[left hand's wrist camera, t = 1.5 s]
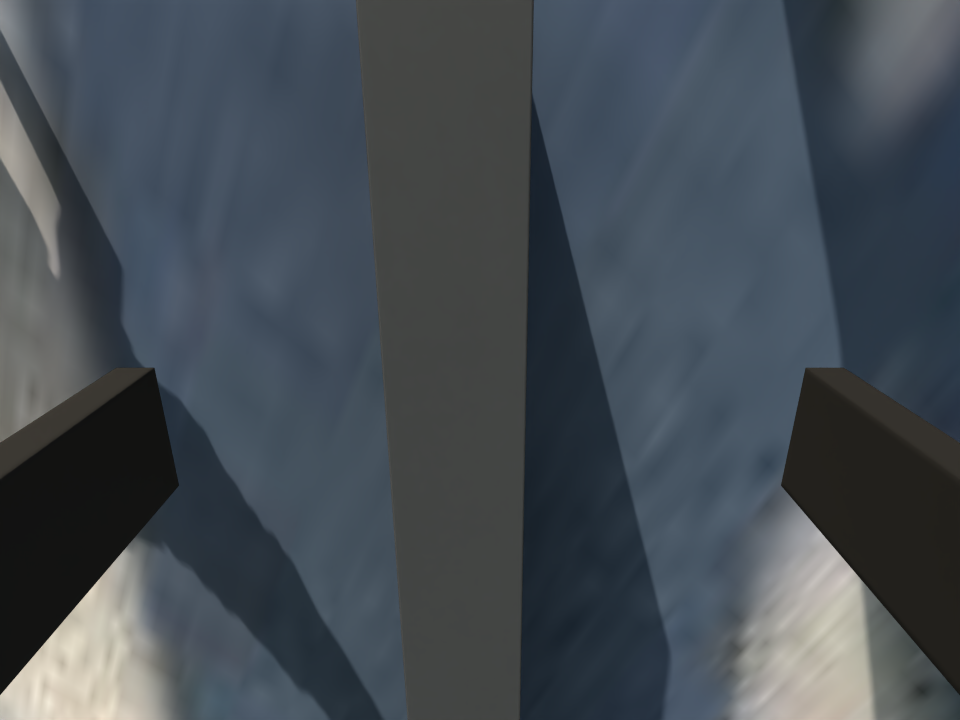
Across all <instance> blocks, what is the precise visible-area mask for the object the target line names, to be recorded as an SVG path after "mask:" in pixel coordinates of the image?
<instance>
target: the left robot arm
mask: <svg viewBox="0 0 960 720" xmlns="http://www.w3.org/2000/svg"><path fill="white" fill-rule="evenodd" d="M178 486H179V483H178V479H177V474H176V469H175V464H174V459H173V455H172V450H171V445H170V440H169V436H168V431H167V426H166V421H165V416H164V412H163V407H162V402H161V397H160V393H159V388H158V383H157V378H156V373H155V369H154V368H115V369H114V370H112V371H111V372H109V373H108V374H106V375H104V376H103V377H101V378H100V379H98V380H97V381H95V382H94V383H92V384H91V385H89V386H87V387H86V388H84V389H83V390H81V391H80V392H78V393H77V394H75V395H74V396H72V397H70V398H69V399H67V400H66V401H64V402H63V403H61V404H60V405H58V406H57V407H55V408H53V409H52V410H50V411H49V412H47V413H46V414H44V415H43V416H41V417H40V418H38V419H36V420H35V421H33V422H32V423H30V424H29V425H27V426H26V427H24V428H23V429H21V430H20V431H18V432H16V433H15V434H13V435H12V436H10V437H9V438H7V439H6V440H4V441H3V442H1V443H0V695H1V693H2V692H3V691H4V690H5V689H6V688H7V686H8V685H9V684H10V683H11V682H12V681H13V679H14V678H15V677H16V676H17V675H18V674H19V672H20V671H21V670H22V669H23V668H24V666H25V665H26V664H27V663H28V662H29V661H30V659H31V658H32V657H33V656H34V655H35V654H36V652H37V651H38V650H39V649H40V648H41V647H42V645H43V644H44V643H45V642H46V641H47V640H48V638H49V637H50V636H51V635H52V634H53V632H54V631H55V630H56V629H57V628H58V627H59V625H60V624H61V623H62V622H63V621H64V620H65V618H66V617H67V616H68V615H69V614H70V613H71V611H72V610H73V609H74V608H75V607H76V606H77V604H78V603H79V602H80V601H81V600H82V598H83V597H84V596H85V595H86V594H87V593H88V591H89V590H90V589H91V588H92V587H93V586H94V584H95V583H96V582H97V581H98V580H99V579H100V577H101V576H102V575H103V574H104V573H105V572H106V570H107V569H108V568H109V567H110V566H111V564H112V563H113V562H114V561H115V560H116V559H117V557H118V556H119V555H120V554H121V553H122V552H123V550H124V549H125V548H126V547H127V546H128V545H129V543H130V542H131V541H132V540H133V539H134V538H135V536H136V535H137V534H138V533H139V532H140V530H141V529H142V528H143V527H144V526H145V525H146V523H147V522H148V521H149V520H150V519H151V518H152V516H153V515H154V514H155V513H156V512H157V511H158V509H159V508H160V507H161V506H162V505H163V504H164V502H165V501H166V500H167V499H168V498H169V496H170V495H171V494H172V493H173V492H174V491H175V489H176V488H177V487H178ZM781 486H782V487H783V488H784V489H785V491H786V492H787V493H788V494H789V495H790V496H791V498H792V499H793V500H794V501H795V502H796V504H797V505H798V506H799V507H800V508H801V509H802V511H803V512H804V513H805V514H806V515H807V516H808V518H809V519H810V520H811V521H812V522H813V523H814V525H815V526H816V527H817V528H818V529H819V530H820V532H821V533H822V534H823V535H824V536H825V538H826V539H827V540H828V541H829V542H830V543H831V545H832V546H833V547H834V548H835V549H836V550H837V552H838V553H839V554H840V555H841V556H842V557H843V559H844V560H845V561H846V562H847V563H848V564H849V566H850V567H851V568H852V569H853V570H854V572H855V573H856V574H857V575H858V576H859V577H860V579H861V580H862V581H863V582H864V583H865V584H866V586H867V587H868V588H869V589H870V590H871V591H872V593H873V594H874V595H875V596H876V597H877V598H878V600H879V601H880V602H881V603H882V604H883V606H884V607H885V608H886V609H887V610H888V611H889V613H890V614H891V615H892V616H893V617H894V618H895V620H896V621H897V622H898V623H899V624H900V625H901V627H902V628H903V629H904V630H905V631H906V632H907V634H908V635H909V636H910V637H911V638H912V640H913V641H914V642H915V643H916V644H917V645H918V647H919V648H920V649H921V650H922V651H923V652H924V654H925V655H926V656H927V657H928V658H929V659H930V661H931V662H932V663H933V664H934V665H935V666H936V668H937V669H938V670H939V671H940V672H941V674H942V675H943V676H944V677H945V678H946V679H947V681H948V682H949V683H950V684H951V685H952V686H953V688H954V689H955V690H956V691H957V692H958V693H959V695H960V443H959V442H957V441H956V440H954V439H953V438H951V437H950V436H948V435H947V434H945V433H944V432H942V431H940V430H939V429H937V428H936V427H934V426H933V425H931V424H930V423H928V422H927V421H925V420H924V419H922V418H920V417H919V416H917V415H916V414H914V413H913V412H911V411H910V410H908V409H907V408H905V407H903V406H902V405H900V404H899V403H897V402H896V401H894V400H893V399H891V398H890V397H888V396H886V395H885V394H883V393H882V392H880V391H879V390H877V389H876V388H874V387H873V386H871V385H869V384H868V383H866V382H865V381H863V380H862V379H860V378H859V377H857V376H856V375H854V374H852V373H851V372H849V371H848V370H846V369H845V368H806V369H805V373H804V378H803V383H802V388H801V393H800V397H799V402H798V407H797V412H796V416H795V421H794V426H793V431H792V436H791V440H790V445H789V450H788V455H787V459H786V464H785V469H784V474H783V479H782V483H781Z"/></svg>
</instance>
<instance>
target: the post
mask: <svg viewBox="0 0 960 720" xmlns="http://www.w3.org/2000/svg"><path fill="white" fill-rule="evenodd" d="M356 7H357V21H358V35H359V49H360V63H361V77H362V91H363V105H364V119H365V133H366V147H367V160H368V174H369V188H370V202H371V216H372V230H373V244H374V258H375V272H376V286H377V299H378V313H379V327H380V341H381V355H382V369H383V383H384V397H385V411H386V425H387V439H388V452H389V466H390V480H391V494H392V508H393V522H394V536H395V550H396V564H397V578H398V592H399V605H400V619H401V633H402V647H403V661H404V675H405V689H406V703H407V717H408V720H520V687H521V635H522V582H523V530H524V478H525V426H526V374H527V322H528V270H529V218H530V166H531V114H532V62H533V10H534V0H356Z"/></svg>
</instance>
